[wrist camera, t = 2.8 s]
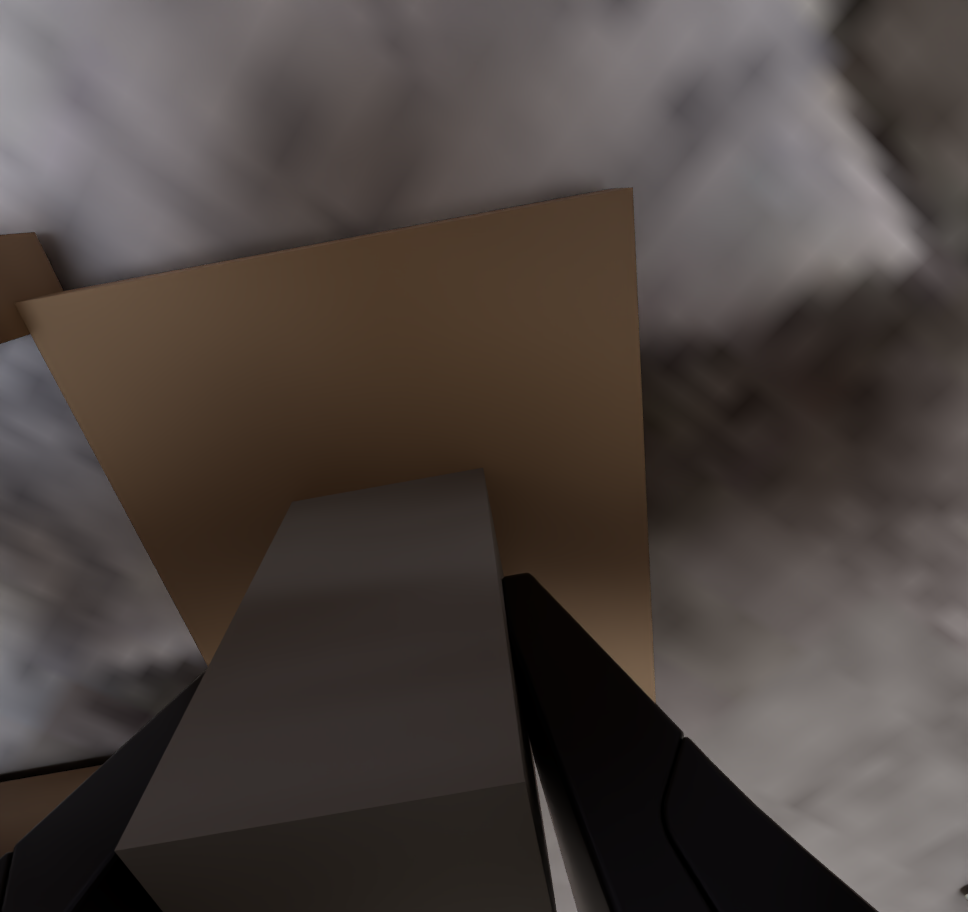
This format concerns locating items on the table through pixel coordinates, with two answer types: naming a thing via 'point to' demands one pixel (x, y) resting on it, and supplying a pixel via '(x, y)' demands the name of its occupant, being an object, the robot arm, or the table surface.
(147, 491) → the wooden tray frame
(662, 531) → the table surface
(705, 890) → the robot arm
